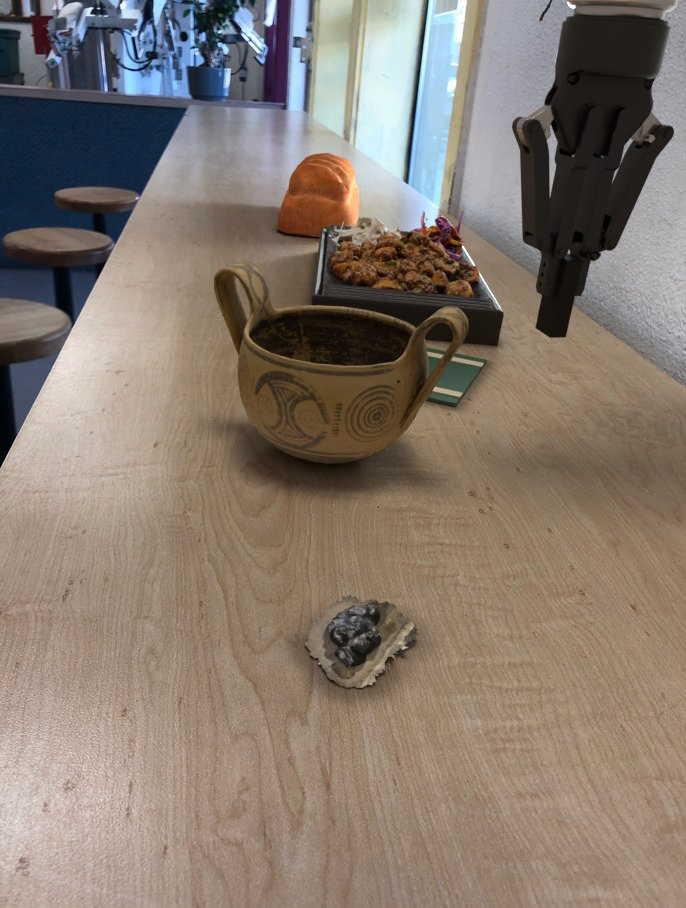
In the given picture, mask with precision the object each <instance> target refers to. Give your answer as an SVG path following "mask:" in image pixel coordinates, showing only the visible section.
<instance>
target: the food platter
mask: <svg viewBox="0 0 686 908" xmlns="http://www.w3.org/2000/svg"><path fill="white" fill-rule="evenodd" d="M463 214H464V210H461V212H460V217H459V220H458V223H457V225H456V226H454V225H453V224H452V222H451V221H450V220H449V219H448V218H447V217H445V216H443V215H441V214H439V215H438V216H437V217H436V218H435V219H434V222H435V225H430V226H429V227H428V226H426V222H427V221H428V220H429V218H428V217H427V218H426V211H424V210H423V211H422V215H421V218H420V227H419V228H417V227H416V228H414V229H412V230H410V231H407V230H402V228H400V227H399V225H396V226H392V227H389V228H388V227H386V224H385V223H383V222H382V221H381V220H379V219H378V218H377V217H368V216H366V217H361V218H360V217H358V220H357V224H355V225H353V226H352V225H351V224H350V226H343V224H344V222H343V224H342V226H341V225H330V226H329V227H321V232H320V237H319V239H318V248H317V255H316V263H315V271H314V278H313V279H314V280H313V287H312V294H311V301H310V302H311V303H310V305H311V306H316V305H320V306H341V307H350V308H356V309H363V310H369V311H373V312H377V313H381V314H385V315H389V316H392V317H394V318H397V319H400V320H402V321H405V322H407V323H409V324H411V325H413V326H414V327H415V328H417V327H418V326H419V325H421V324H422V323H423V322H424V321H425V320H427V319H428V318H430V317H431V316H432V315H433V314H434V313H436V312H437V311H438V310H440V309H442V308H444V307H457V308H459V309H461V310H462V312H463V313H464V314H465V315H466V316H467V318H468V322H469V327H468V332H467V335H466V337H465V339H464V341H463V343H462V344H464V343H465V344H475V345H485V346H486V345H487V346H496V347H497V346H499V342H500V341H499V340H500V335H501V332H502V327H503V322H504V315H505V313H504V311H503V309H502V307H501V305H500V304H499V302H498V300H497V299H496V297H495V296H494V295H493V292H492V290H491V289H490V288H489V286H488V284H487V282H486V280H485V279H484V277H483V276H482V274H481V273H480V268H479V267H478V266H477V265H475V263H474V261H473V259H472V258H471V256H470V255H469V253H468V251H467V250H466V248H465V246H464V244H463V243H464V240H463V238H462V237H461V235H460V231H461V230H460V229H461V224H462V219H463ZM425 221H426V222H425ZM425 340H426V341H427V340H428V341H441V342H450V343H451V342H452V340H453V332H452V330H451V328H450V327H449V326H448V325H447V324H446V323H443V322H442V323H437V324H435V325H434V326H433V327H432V328H431V329H430V330H429V331H428V332H427V334H426V336H425Z"/></svg>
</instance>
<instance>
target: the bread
mask: <svg viewBox="0 0 686 908" xmlns="http://www.w3.org/2000/svg"><path fill="white" fill-rule="evenodd" d="M355 173H356V172H355V169H354V165H353V164H352V163H351V162H350V161H349V160H348V159H346V158H344V157H341V156H338V155H335V154H333V153H329V152H321V153H320V152H319V153H313V154H311V155H308V156H306V157H304V159H303V160H301V162H300V163H299V164H298V165H297V166H296V168H295V169H294V170H293V171H292V173H291V175H290V177H289V181H288V187H287V188H288V189H286V191H285V194H284V196H283V200H282V203H281V205H280V208H279V211H278V215H277V219H276V225H277V230H278V231H280V232H282V233H284V234H288V235H293V236H294V235H295V236H303V237H313V238H320V232H321V227H329V226H330V225H341V226H342V224H343V222H344V224H343V226H350V224H351V225H352V226H353V225H355V224H357V220H358V218H359V214H360V194H359V188H358V186H357V183H356V174H355Z"/></svg>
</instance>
